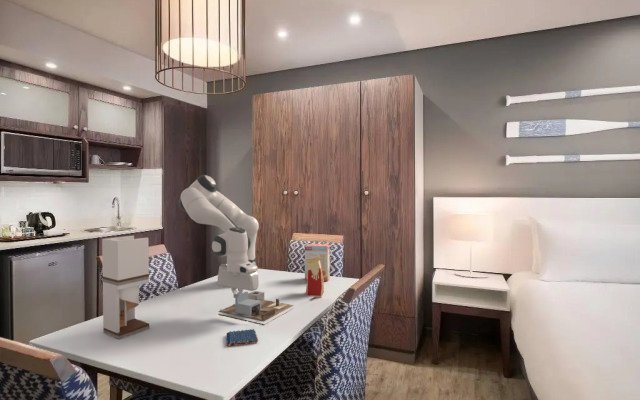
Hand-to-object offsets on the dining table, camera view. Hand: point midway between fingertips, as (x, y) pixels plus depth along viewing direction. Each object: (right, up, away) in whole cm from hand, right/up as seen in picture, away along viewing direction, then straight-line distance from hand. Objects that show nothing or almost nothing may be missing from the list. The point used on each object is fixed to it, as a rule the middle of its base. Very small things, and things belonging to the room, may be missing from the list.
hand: (237, 297), depth 149 cm
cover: (+5, -5, -2) cm, 8 cm away
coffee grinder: (-37, -8, -18) cm, 42 cm away
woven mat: (+8, -8, -25) cm, 27 cm away
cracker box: (+34, -6, +58) cm, 68 cm away
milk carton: (+33, -7, +28) cm, 44 cm away
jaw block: (+6, -5, +12) cm, 14 cm away
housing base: (+8, -7, +3) cm, 11 cm away
